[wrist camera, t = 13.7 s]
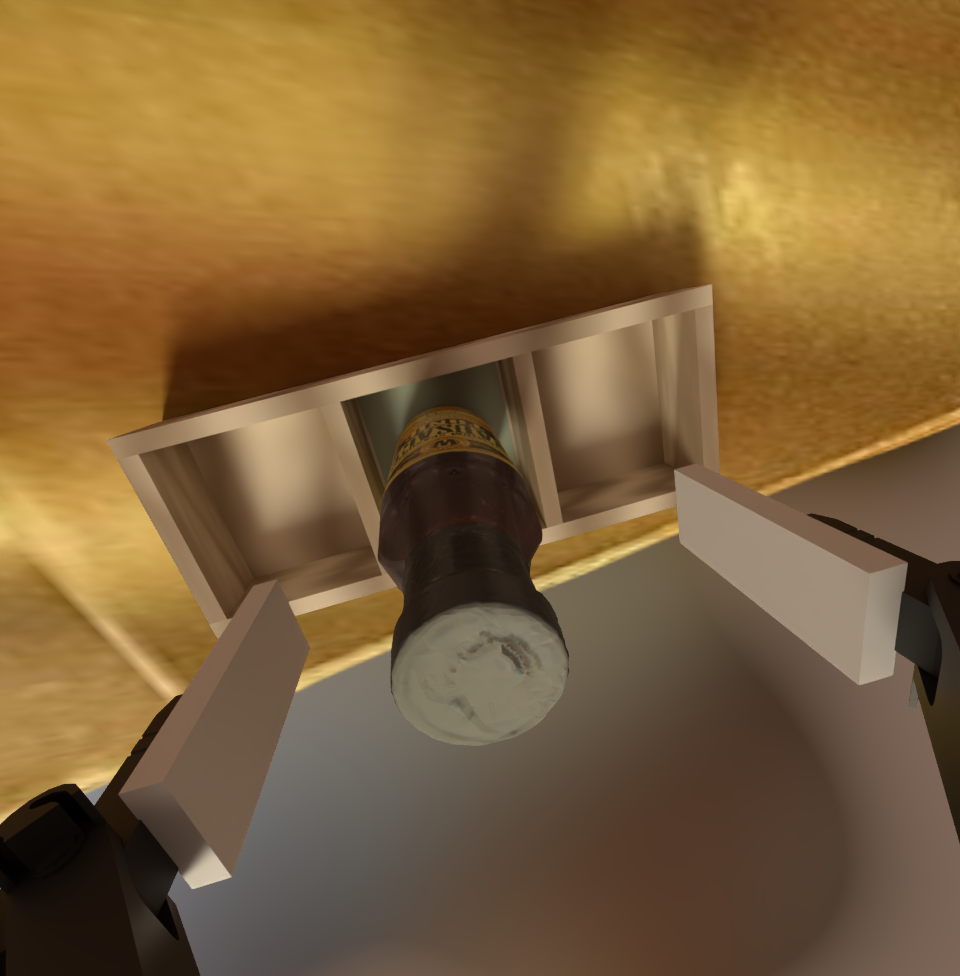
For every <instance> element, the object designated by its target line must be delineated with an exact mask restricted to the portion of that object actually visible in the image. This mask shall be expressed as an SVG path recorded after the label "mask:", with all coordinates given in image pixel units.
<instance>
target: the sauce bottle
mask: <svg viewBox="0 0 960 976" xmlns="http://www.w3.org/2000/svg"><path fill="white" fill-rule="evenodd" d="M542 536H543V533H542V528H541V524H540V522H539V519H538V517H537V514H536V512H535V509H534V507H533V504H532V502H531V499H530V496H529V494H528V491H527V488H526V485H525V482H524V480H523V478H522V476H521V475H520V473H519V472H518V470H517V468H516V467H515V465H514V463H513V462H512V460H511V459H510V457H509V455H508V454H507V452H506V451H505V449H504V448H503V446H502V444H501V443H500V441H499V439H498V438H497V436H496V435H495V433H494V432H493V430H492V429H491V427H490V426H489V425H488V424H487V422H486V421H485V420H484V419H483V418H482V417H480V416H479V415H477V414H476V413H474V412H472V411H470V410H467V409H465V408H461V407H456V406H453V405H450V406H444V405H441V406H436V407H432V408H431V409H428V410H426V411H423V412H422V413H420V414H418V415H417V416H415V417H414V418H413V419H412V420H411V421H410V422H409V423H408V424H407V425H406V427H405V428H404V429H403V431H402V433H401V435H400V437H399V439H398V442H397V446H396V450H395V454H394V458H393V462H392V466H391V470H390V473H389V477H388V480H387V484H386V488H385V491H384V494H383V498H382V502H381V511H380V528H379V543H378V561H379V563H380V564H381V565H382V567H383V568H384V569H385V571H386V572H387V573H388V575H389V576H390V577H391V579H392V580H393V582H394V583H395V584H396V585H397V587H398V589H399V590H401V591H402V592H403V594H404V608H403V612H402V614H401V616H400V617H399V619H398V621H397V624H396V626H395V630H394V634H393V642H392V650H391V693H392V695H393V696H394V699H395V703H396V705H397V707H398V708H399V710H400V712H401V713H402V715H403V716H404V717H405V718H406V719H407V720H408V721H409V722H410V723H411V724H412V725H413V726H414V727H415V728H416V729H417V730H420V731H421V732H423V733H426V734H428V735H429V736H430V737H431V738H433V739H436V740H440V741H444V742H447V743H450V744H456V745H457V744H458V745H485V744H489V743H494V742H498V741H501V740H505V739H508V738H514V737H516V736H518V735H520V734H522V733H524V732H526V731H527V730H529V729H530V728H532V727H534V726H535V725H536V724H538V723H539V722H540V721H542V720H543V719H544V718H545V716H546V715H547V713H548V711H549V710H550V709H551V708H552V707H553V706H554V705H555V704H556V702H557V701H558V700H559V698H560V697H561V695H562V693H563V692H564V689H565V685H566V681H567V677H568V673H569V668H568V660H569V659H568V658H569V654H568V651H567V648H566V646H565V640H564V638H563V635H562V631H561V628H560V626H559V624H558V619H557V617H556V614H555V612H554V610H553V608H552V606H551V605H550V603H549V602H548V600H547V599H546V598H545V597H544V596H543V594H542V593H540V592H538V591H537V590H536V589H535V586H534V584H533V582H532V580H531V578H530V566H531V560H532V558H533V556H534V554H535V552H536V550H537V549H538V547H539V545H540V543H541V542H542Z"/></svg>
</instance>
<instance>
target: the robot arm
mask: <svg viewBox="0 0 960 976" xmlns="http://www.w3.org/2000/svg"><path fill="white" fill-rule="evenodd" d="M674 475H675V487H676V500H677V512H678V524H679V537H680V543H681V544H682V545H684V546H685V547H686V548H687V549H689V550H690V551H691V552H692V553H694V554H695V555H696V556H697V557H699V558H700V559H701V560H702V561H704V562H705V563H706V564H707V565H709V566H710V567H711V568H713V569H714V570H715V571H716V572H717V573H719V574H720V575H721V576H722V577H724V578H725V579H726V580H728V581H729V582H730V583H731V584H732V585H734V586H735V587H736V588H738V589H739V590H740V591H741V592H743V593H744V594H745V595H746V596H748V597H749V598H750V599H751V600H753V601H754V602H755V603H756V604H758V605H759V606H760V607H761V608H763V609H764V610H765V611H766V612H768V613H769V614H770V615H771V616H773V617H774V618H775V619H776V620H778V621H779V622H780V623H781V624H783V625H784V626H785V627H786V628H788V629H789V630H790V631H791V632H793V633H794V634H795V635H797V636H798V637H799V638H800V639H802V640H803V641H804V642H805V643H806V644H808V645H809V646H810V647H811V648H813V649H814V650H815V651H816V652H818V653H819V654H820V655H821V656H823V657H824V658H825V659H826V660H828V661H829V662H830V663H831V664H833V665H834V666H835V667H837V668H838V669H839V670H840V671H841V672H843V673H844V674H845V675H846V676H848V677H849V678H850V679H852V680H853V681H854V682H855V683H857V684H858V685H862V684H865V683H868V682H872V681H875V680H878V679H881V678H885V677H888V676H891V675H893V671H894V664H895V656H896V651H897V652H898V653H900V654H901V655H903V656H904V657H906V658H907V659H909V660H910V661H912V662H913V663H915V666H914V673H913V679H912V686H911V693H910V699H909V706H910V707H915V708H916V707H917V701H918V699H919V701H920V704H921V708H922V711H923V715H924V718H925V722H926V725H927V729H928V732H929V736H930V739H931V743H932V747H933V750H934V754H935V757H936V761H937V764H938V768H939V771H940V775H941V778H942V782H943V786H944V789H945V793H946V796H947V800H948V803H949V807H950V810H951V814H952V817H953V821H954V825H955V828H956V832H957V835H958V839H959V842H960V561H949V562H944V563H939V564H936V563H934V562H932V561H929V560H927V559H925V558H923V557H921V556H918V555H916V554H914V553H912V552H909V551H907V550H905V549H903V548H900V547H898V546H896V545H893V544H891V543H889V542H887V541H885V540H882V539H880V538H874V536H873V535H871V534H869V533H866V532H864V531H862V530H859V531H858V530H857V528H855V527H853V526H851V525H849V524H846V523H844V522H842V521H839V520H837V519H833V518H829V517H825V516H821V515H816V514H808V515H805V514H803V513H801V512H799V511H797V510H794V509H792V508H790V507H788V506H786V505H784V504H782V503H780V502H777V501H775V500H773V499H771V498H769V497H767V496H765V495H762V494H760V493H758V492H756V491H754V490H752V489H750V488H748V487H745V486H743V485H741V484H739V483H737V482H735V481H733V480H730V479H728V478H726V477H724V476H722V475H720V474H718V473H716V472H713V471H711V470H709V469H707V468H705V467H703V466H701V465H698V464H692V465H689V466H685V467H681V468H678V469H674ZM309 649H310V647H309V645H308V643H307V641H306V639H305V636H304V634H303V632H302V630H301V628H300V626H299V624H298V622H297V619H296V617H295V615H294V613H293V611H292V609H291V607H290V605H289V602H288V600H287V598H286V596H285V594H284V592H283V590H282V588H281V585H280V583H279V581H278V579H276V580H272V581H269V582H265V583H261V584H258V585H254V586H253V587H252V588H251V590H250V592H249V593H248V595H247V596H246V598H245V599H244V601H243V602H242V604H241V605H240V607H239V609H238V610H237V612H236V613H235V615H234V616H233V618H232V619H231V621H230V622H229V624H228V626H227V627H226V629H225V630H224V632H223V633H222V635H221V636H220V638H219V639H218V641H217V642H216V644H215V646H214V647H213V649H212V650H211V652H210V653H209V655H208V656H207V658H206V659H205V661H204V663H203V664H202V666H201V667H200V669H199V670H198V672H197V673H196V675H195V676H194V678H193V680H192V681H191V683H190V684H189V686H188V687H187V689H186V690H185V692H184V693H183V694H182V695H178V696H176V697H174V698H173V699H172V700H171V701H170V702H169V703H168V704H167V705H166V706H165V707H164V708H163V709H162V710H161V711H160V712H159V713H158V714H157V715H156V716H155V718H154V719H153V721H152V722H151V723H150V725H149V726H148V728H147V729H146V731H145V732H144V734H143V735H142V737H143V738H142V739H140V740H139V741H138V743H137V744H136V745H135V747H134V748H133V750H132V751H131V756H129V757H127V759H126V760H125V762H124V763H123V764H122V766H121V767H120V769H119V770H118V772H117V773H116V775H115V776H114V778H113V779H112V781H111V782H110V784H109V785H108V786H107V788H106V789H105V791H104V792H103V794H102V795H101V797H100V798H99V800H98V801H97V803H96V804H95V806H94V805H93V804H92V803H91V802H90V800H89V799H88V798H87V797H86V796H85V794H84V793H83V792H82V791H81V790H80V788H79V787H78V786H77V785H76V784H63V785H60V786H57V787H54V788H52V789H49V790H47V791H45V792H43V793H42V794H40V795H38V796H37V797H35V798H33V799H31V800H30V801H28V802H27V803H26V804H24V805H23V806H22V807H20V808H19V809H18V810H16V811H15V812H14V813H12V814H11V815H10V816H9V817H8V818H7V819H6V820H4V821H3V822H2V823H1V824H0V888H1V889H0V976H200V973H199V970H198V967H197V965H196V962H195V959H194V956H193V953H192V950H191V947H190V944H189V941H188V938H187V936H186V933H185V930H184V927H183V924H182V921H181V918H180V915H179V912H178V909H177V907H176V905H175V903H174V902H173V901H172V900H171V898H170V897H169V896H168V895H167V894H168V892H169V890H170V887H171V885H172V883H173V880H174V878H175V876H176V874H177V872H178V871H179V873H180V874H181V875H182V876H183V877H184V879H185V880H186V882H187V883H188V884H189V885H190V886H191V888H192V889H194V888H197V887H201V886H204V885H208V884H211V883H214V882H217V881H221V880H224V879H227V878H230V877H232V875H233V872H234V869H235V866H236V863H237V860H238V857H239V854H240V851H241V848H242V846H243V843H244V840H245V837H246V834H247V831H248V828H249V825H250V822H251V819H252V816H253V813H254V810H255V807H256V804H257V801H258V799H259V796H260V793H261V790H262V787H263V784H264V781H265V778H266V775H267V772H268V769H269V766H270V763H271V760H272V757H273V755H274V752H275V749H276V745H277V743H278V739H279V737H280V734H281V731H282V728H283V725H284V722H285V719H286V716H287V713H288V710H289V707H290V704H291V702H292V699H293V696H294V693H295V690H296V687H297V684H298V681H299V678H300V675H301V672H302V669H303V666H304V663H305V661H306V658H307V655H308V652H309Z"/></svg>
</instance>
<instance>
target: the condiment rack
mask: <svg viewBox="0 0 960 976" xmlns="http://www.w3.org/2000/svg"><path fill="white" fill-rule="evenodd" d="M441 405H444V406H450V405H453V406H456V407H461V408H465V409H467V410H470V411H472V412H474V413H476V414H477V415H479V416H480V417H482V418H483V419H484V420H485V421H486V422H487V424H488V425H489V426H490V427H491V429H492V430H493V432H494V433H495V435H496V436H497V438H498V439H499V441H500V443H501V444H502V446H503V448H504V449H505V451H506V452H507V454H508V455H509V457H510V459H511V460H512V462H513V463H514V465H515V467H516V468H517V470H518V472H519V473H520V475H521V476H522V478H523V480H524V482H525V485H526V488H527V491H528V494H529V496H530V499H531V502H532V504H533V507H534V509H535V512H536V514H537V517H538V519H539V522H540V524H541V528H542V533H543V536H542V542H541V543H540V545H543V544H547V543H550V542H554V541H557V540H561V539H564V538H567V537H571V536H574V535H578V534H581V533H585V532H588V531H592V530H595V529H599V528H602V527H606V526H609V525H613V524H616V523H620V522H623V521H626V520H630V519H633V518H637V517H640V516H644V515H647V514H651V513H654V512H658V511H661V510H665V509H668V508H672V507H675V506H677V500H676V487H675V475H674V469H678V468H681V467H685V466H689V465H692V464H698V465H701V466H703V467H705V468H707V469H709V470H711V471H713V472H716V473H718V474H720V465H719V441H718V418H717V394H716V370H715V347H714V323H713V300H712V284H710V285H704V286H698V287H692V288H686V289H680V290H674V291H668V292H662V293H658V294H654V295H650V296H646V297H642V298H638V299H634V300H631V301H627V302H623V303H619V304H615V305H611V306H607V307H603V308H599V309H596V310H592V311H588V312H584V313H580V314H576V315H572V316H568V317H564V318H561V319H557V320H553V321H549V322H545V323H541V324H537V325H533V326H530V327H526V328H522V329H518V330H514V331H510V332H506V333H502V334H498V335H495V336H491V337H487V338H483V339H479V340H475V341H471V342H467V343H463V344H460V345H456V346H452V347H448V348H444V349H440V350H436V351H432V352H428V353H425V354H421V355H417V356H413V357H409V358H405V359H401V360H397V361H393V362H390V363H386V364H382V365H378V366H374V367H370V368H366V369H362V370H358V371H355V372H351V373H347V374H343V375H339V376H335V377H331V378H327V379H323V380H320V381H316V382H312V383H308V384H304V385H300V386H296V387H292V388H288V389H285V390H281V391H277V392H273V393H269V394H265V395H261V396H257V397H254V398H250V399H246V400H242V401H238V402H234V403H230V404H226V405H222V406H219V407H215V408H211V409H207V410H203V411H199V412H195V413H191V414H187V415H184V416H180V417H176V418H172V419H168V420H164V421H161V422H158V423H155V424H152V425H149V426H146V427H143V428H140V429H138V430H135V431H132V432H129V433H126V434H123V435H120V436H117V437H114V438H112V439H109V440H107V442H108V444H109V446H110V448H111V449H112V451H113V453H114V455H115V457H116V458H117V460H118V462H119V464H120V465H121V467H122V469H123V471H124V473H125V474H126V476H127V478H128V480H129V482H130V483H131V485H132V487H133V489H134V490H135V492H136V494H137V496H138V498H139V499H140V501H141V503H142V505H143V507H144V508H145V510H146V512H147V514H148V515H149V517H150V519H151V521H152V523H153V524H154V526H155V528H156V530H157V532H158V533H159V535H160V537H161V539H162V540H163V542H164V544H165V546H166V548H167V549H168V551H169V553H170V555H171V557H172V558H173V560H174V562H175V564H176V565H177V567H178V569H179V571H180V573H181V574H182V576H183V578H184V580H185V582H186V583H187V585H188V587H189V589H190V590H191V592H192V594H193V596H194V598H195V599H196V601H197V603H198V605H199V607H200V608H201V610H202V612H203V614H204V616H205V617H206V619H207V621H208V623H209V624H210V626H211V628H212V630H213V632H214V633H215V635H216V637H217V638H220V636H221V635H222V633H223V632H224V630H225V629H226V627H227V626H228V624H229V622H230V621H231V619H232V618H233V616H234V615H235V613H236V612H237V610H238V609H239V607H240V605H241V604H242V602H243V601H244V599H245V598H246V596H247V595H248V593H249V592H250V590H251V588H252V587H253V586H254V585H258V584H261V583H265V582H269V581H272V580H276V579H278V581H279V583H280V585H281V588H282V590H283V592H284V594H285V596H286V598H287V600H288V602H289V605H290V607H291V609H292V611H293V613H294V615H295V616H297V615H300V614H304V613H307V612H311V611H314V610H318V609H321V608H324V607H328V606H331V605H335V604H338V603H342V602H345V601H349V600H352V599H356V598H359V597H363V596H366V595H370V594H373V593H377V592H380V591H383V590H387V589H390V588H394V587H397V585H396V584H395V583H394V582H393V580H392V579H391V577H390V576H389V575H388V573H387V572H386V571H385V569H384V568H383V567H382V565H381V564H380V563H379V561H378V543H379V528H380V511H381V502H382V498H383V494H384V491H385V488H386V484H387V480H388V477H389V473H390V470H391V466H392V462H393V458H394V454H395V450H396V446H397V442H398V439H399V437H400V435H401V433H402V431H403V429H404V428H405V427H406V425H407V424H408V423H409V422H410V421H411V420H412V419H413V418H414V417H415V416H417V415H418V414H420V413H422V412H423V411H426V410H428V409H431V408H432V407H436V406H441ZM540 545H539V546H540Z"/></svg>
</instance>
